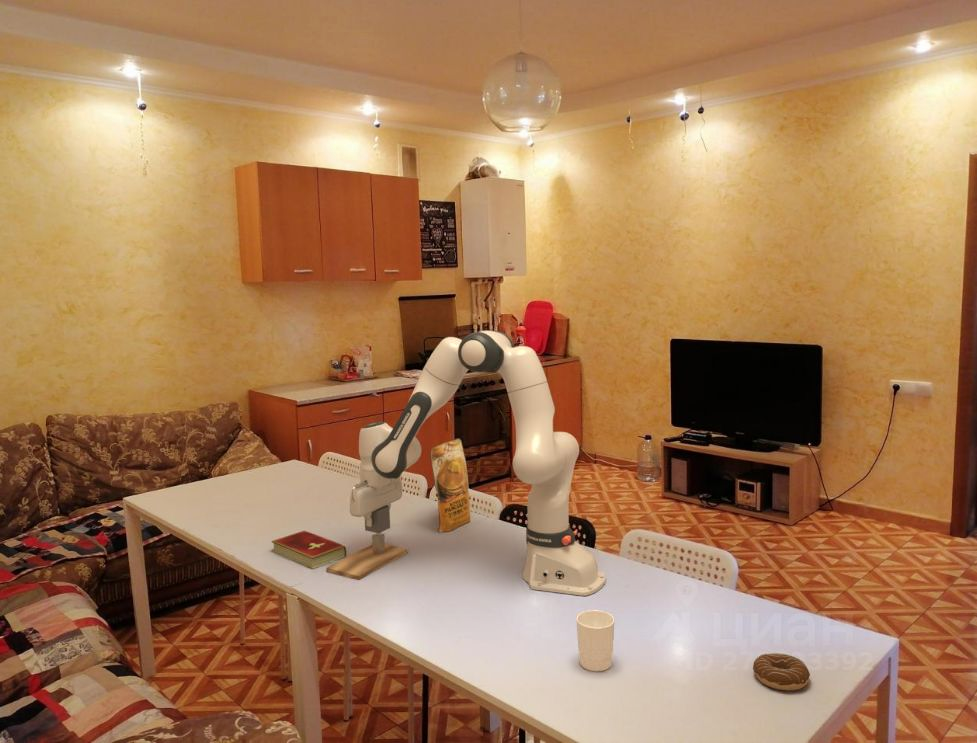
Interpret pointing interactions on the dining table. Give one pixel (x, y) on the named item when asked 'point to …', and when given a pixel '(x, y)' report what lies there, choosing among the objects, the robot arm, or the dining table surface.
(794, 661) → the donut
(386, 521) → the gray rectangular block
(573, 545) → the robot arm
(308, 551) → the hardcover book
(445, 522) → the pancake mix bag
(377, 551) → the post
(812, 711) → the dining table surface
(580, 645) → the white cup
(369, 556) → the board
